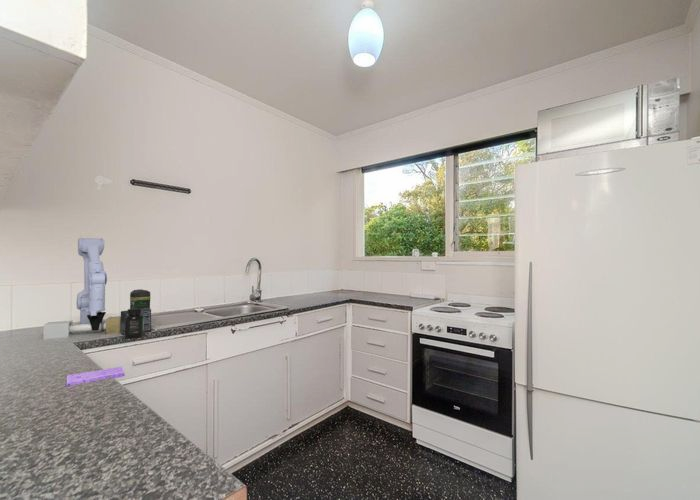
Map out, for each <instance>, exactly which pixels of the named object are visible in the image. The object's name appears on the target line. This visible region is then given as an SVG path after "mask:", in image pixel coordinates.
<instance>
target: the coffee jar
mask: <svg viewBox="0 0 700 500" xmlns="http://www.w3.org/2000/svg"><path fill="white" fill-rule="evenodd" d="M129 301H130V302H129V309H132V308H141V309H144V308H147V309H151V291H149V290H147V289H146V290H145V289H134V290H132V291H131V292H130V293H129Z"/></svg>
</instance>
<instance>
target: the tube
mask: <svg viewBox="0 0 700 500" xmlns="http://www.w3.org/2000/svg"><path fill="white" fill-rule="evenodd" d="M98 331H101V332H104V331H106V321H102V322H101V323H100V326H99V330H98ZM83 332H93V331H92V328H91V324H81V325H80V324H73V325H69V333H72V334H74V333H83Z"/></svg>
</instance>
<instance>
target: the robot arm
mask: <svg viewBox="0 0 700 500" xmlns="http://www.w3.org/2000/svg"><path fill="white" fill-rule="evenodd" d="M104 249H105V240H104V238H89V237H79V238H78V240H77V253H78V256H80V257H82V258H83V268H84V269H83V272H84V273H83V276H84V277H83V279H84V280H83V283H84V285H83V287H84V289H83V290H81V291H80V292H78V293H77V294H76V295H77V296H76V302H75V303H76V309H77V310H79V314H80V315H79V325H81V324H91V328H92V331H91V332H95V331H100V330H99V326H100V323H101V322H103V320H104V317H105V315H106V285H107V283H108V275H107V272H106V271H105V268H104V263H103V262H102V260H100V256H102V254H103V252H104Z"/></svg>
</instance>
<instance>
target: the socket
mask: <svg viewBox="0 0 700 500" xmlns="http://www.w3.org/2000/svg"><path fill="white" fill-rule="evenodd" d="M105 323H106V330H105V335H109V334H110V335H111V334H112V335H113V334H121V315H119V316H109V317H107V318H106V319H105Z"/></svg>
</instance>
